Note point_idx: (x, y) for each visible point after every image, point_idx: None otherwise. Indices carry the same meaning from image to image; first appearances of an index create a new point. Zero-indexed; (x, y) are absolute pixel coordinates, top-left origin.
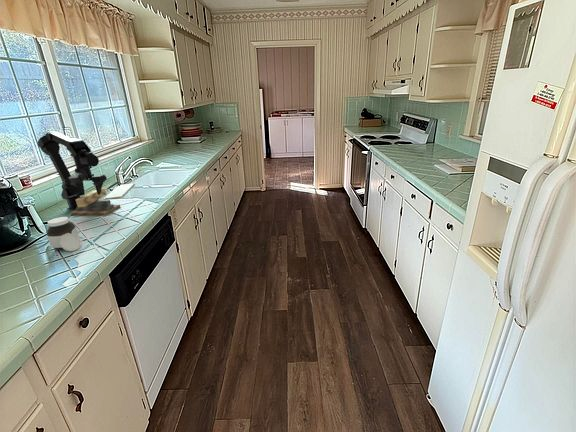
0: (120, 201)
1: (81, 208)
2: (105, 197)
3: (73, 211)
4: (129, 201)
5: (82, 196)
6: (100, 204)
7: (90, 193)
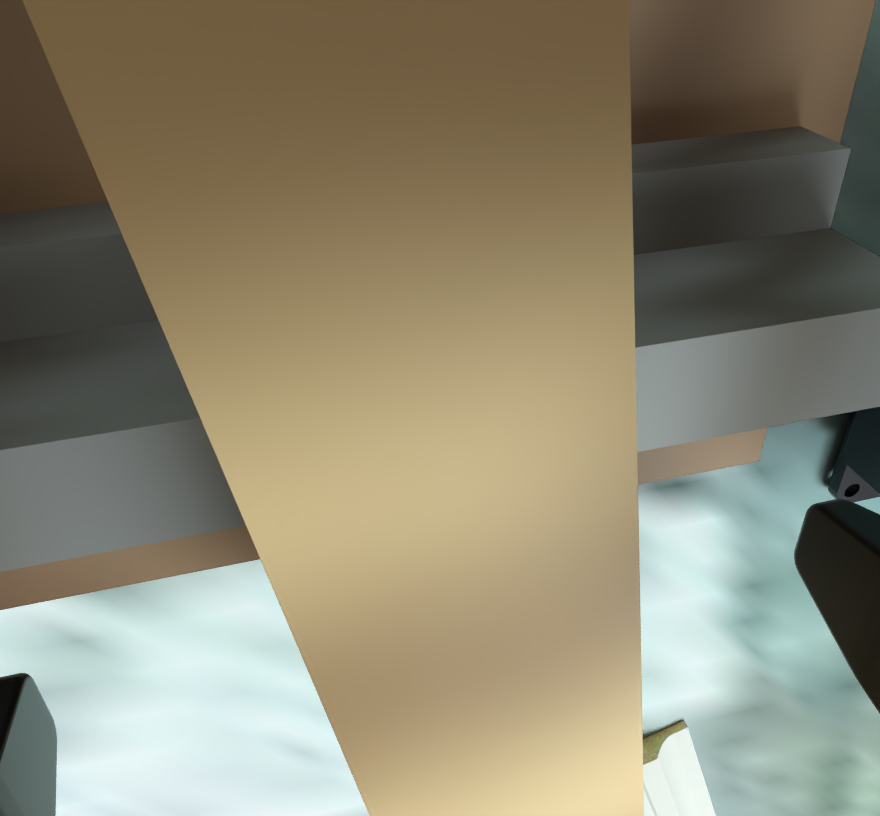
0: (290, 757)
1: (684, 160)
2: (690, 773)
3: (853, 36)
4: (92, 802)
5: (582, 184)
6: (70, 369)
7: (498, 652)
